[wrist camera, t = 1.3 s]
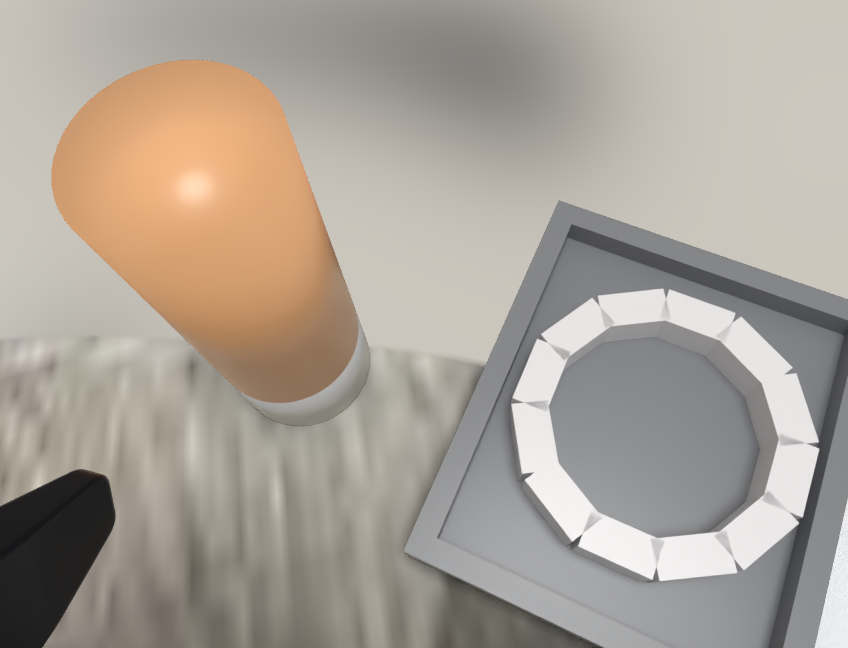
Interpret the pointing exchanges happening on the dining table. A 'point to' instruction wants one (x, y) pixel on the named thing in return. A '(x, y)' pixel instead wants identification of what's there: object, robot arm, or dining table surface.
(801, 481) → the housing
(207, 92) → the peach bulb knob
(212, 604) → the dining table surface
